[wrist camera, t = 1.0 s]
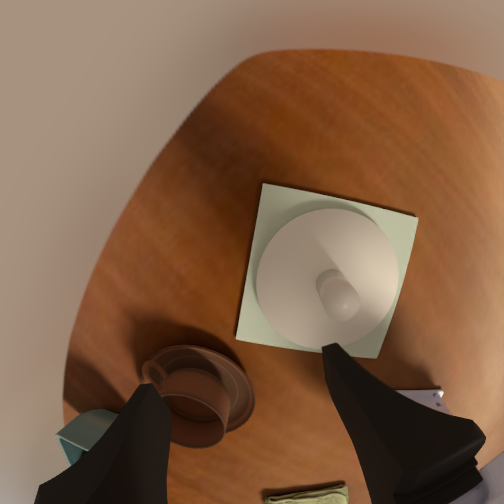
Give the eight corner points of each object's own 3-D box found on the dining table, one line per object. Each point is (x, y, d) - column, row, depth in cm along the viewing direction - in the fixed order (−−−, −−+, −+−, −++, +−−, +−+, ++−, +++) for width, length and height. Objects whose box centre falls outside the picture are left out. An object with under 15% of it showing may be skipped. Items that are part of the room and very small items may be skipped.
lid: (409, 225, 23) (438, 233, 18) (372, 351, 26) (388, 381, 21) (271, 194, 23) (270, 196, 18) (245, 333, 26) (239, 364, 21)
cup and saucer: (133, 389, 29) (111, 422, 23) (171, 315, 27) (147, 345, 21) (223, 437, 30) (215, 474, 24) (278, 374, 27) (279, 415, 21)
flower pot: (88, 391, 30) (53, 433, 21) (149, 412, 30) (121, 464, 21) (99, 433, 32) (72, 473, 23) (153, 453, 32) (133, 499, 23)
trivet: (416, 217, 23) (418, 218, 23) (375, 356, 26) (376, 358, 26) (263, 183, 24) (263, 183, 23) (236, 337, 27) (235, 339, 26)
